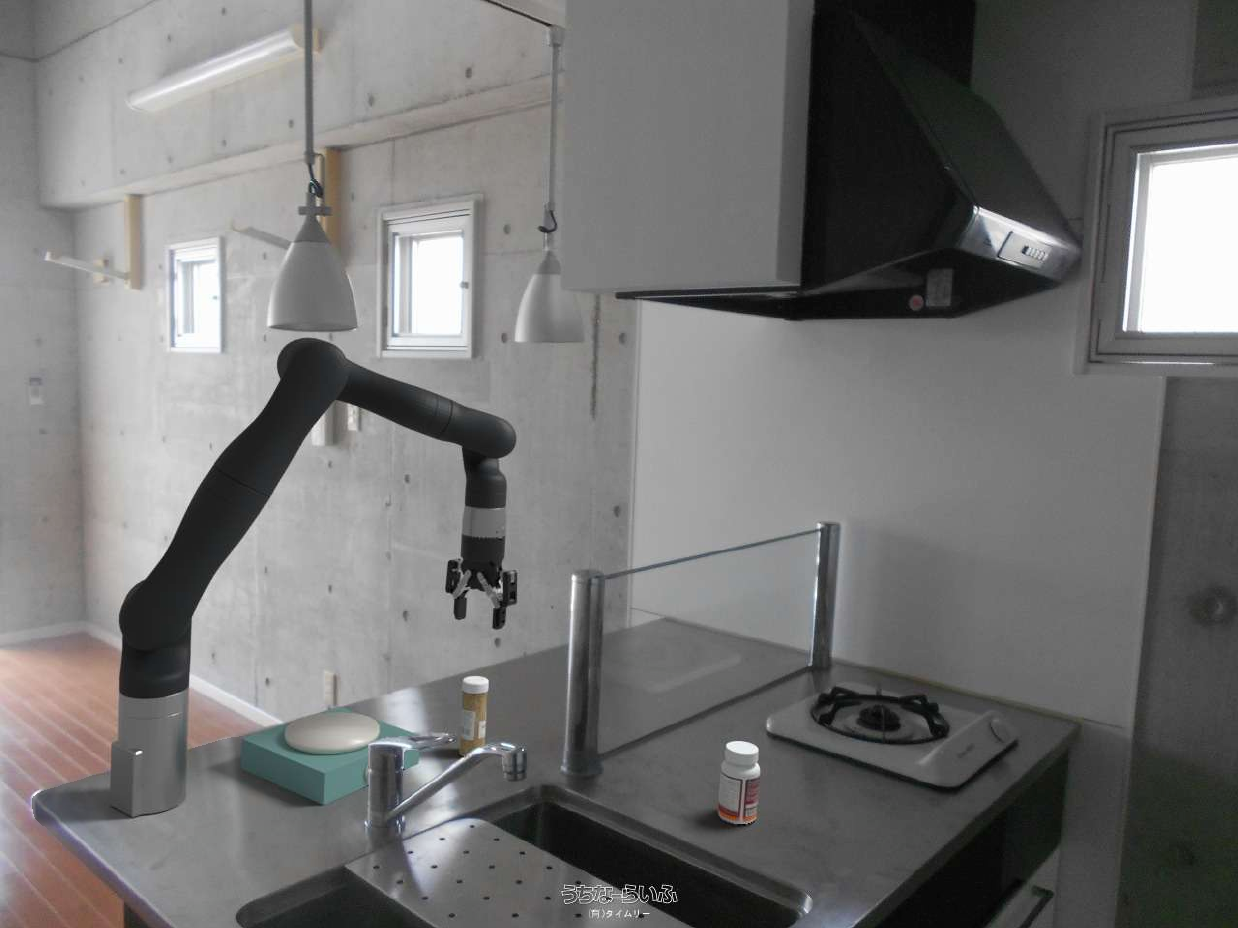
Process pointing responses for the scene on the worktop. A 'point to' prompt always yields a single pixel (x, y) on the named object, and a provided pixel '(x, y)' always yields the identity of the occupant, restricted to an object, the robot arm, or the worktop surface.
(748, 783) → the pill bottle
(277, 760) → the scale
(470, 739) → the sprinkles bottle
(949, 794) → the worktop surface
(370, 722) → the scale pan
